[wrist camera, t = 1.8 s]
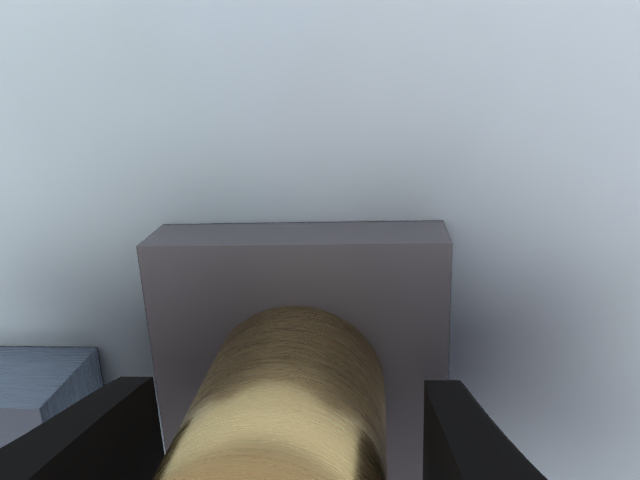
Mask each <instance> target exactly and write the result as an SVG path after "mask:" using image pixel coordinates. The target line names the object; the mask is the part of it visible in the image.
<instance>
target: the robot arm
mask: <svg viewBox="0 0 640 480" xmlns="http://www.w3.org/2000/svg"><path fill="white" fill-rule="evenodd" d="M163 457H164V450H163V443H162V436H161V429H160V422H159V416H158V409H157V402H156V395H155V388H154V381H153V377H120V378H117V379H115V380H113V381H111V382H110V383H108V384H106V385H104V386H102V387H101V388H99V389H97V390H96V391H94V392H92V393H91V394H89V395H87V396H86V397H84V398H82V399H81V400H79V401H78V402H76V403H74V404H73V405H71V406H70V407H68V408H66V409H65V410H63V411H61V412H60V413H58V414H57V415H55V416H53V417H52V418H50V419H48V420H47V421H45V422H44V423H42V424H40V425H39V426H37V427H35V428H34V429H32V430H31V431H29V432H27V433H26V434H24V435H22V436H21V437H19V438H17V439H15V440H14V441H12V442H10V443H8V444H7V445H5V446H3V447H1V448H0V480H152V479H153V477H154V475H155V473H156V471H157V469H158V467H159V465H160V463H161V461H162V459H163ZM423 480H547V479H546V478H545V477H544V476H543V475H542V474H541V473H540V472H539V471H538V470H537V469H536V468H535V467H534V466H533V465H532V464H531V463H530V462H529V461H528V460H527V458H526V457H525V456H524V455H523V454H522V453H521V452H520V451H519V450H518V449H517V448H516V446H515V445H514V444H513V443H512V442H511V441H510V440H509V439H508V438H507V437H506V436H505V434H504V433H503V432H502V431H501V430H500V429H499V428H498V426H497V425H496V424H495V423H494V422H493V420H492V419H491V418H490V417H489V416H488V414H487V413H486V412H485V411H484V410H483V408H482V407H481V406H480V405H479V403H478V402H477V401H476V399H475V398H474V397H473V396H472V394H471V393H470V392H469V390H468V389H467V388H466V387H465V386H464V384H463V383H462V382H461V381H460V380H424V427H423Z"/></svg>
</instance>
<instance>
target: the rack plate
mask: <svg viewBox="0 0 640 480" xmlns="http://www.w3.org/2000/svg"><path fill="white" fill-rule="evenodd" d="M102 386H103V381H102V375H101V369H100V363H99V358H98V352H97V348H90V347H0V448H1V447H3V446H5V445H7V444H8V443H10V442H12V441H14V440H15V439H17V438H19V437H21V436H22V435H24V434H26V433H27V432H29V431H31V430H32V429H34V428H35V427H37V426H39V425H40V424H42V423H44V422H45V421H47V420H48V419H50V418H52V417H53V416H55V415H57V414H58V413H60V412H61V411H63V410H65V409H66V408H68V407H70V406H71V405H73V404H74V403H76V402H78V401H79V400H81V399H82V398H84V397H86V396H87V395H89V394H91V393H92V392H94V391H96V390H97V389H99V388H101V387H102Z"/></svg>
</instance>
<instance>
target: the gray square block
mask: <svg viewBox="0 0 640 480" xmlns="http://www.w3.org/2000/svg"><path fill="white" fill-rule="evenodd" d="M136 247H137V254H138V261H139V268H140V275H141V282H142V289H143V296H144V303H145V310H146V317H147V324H148V331H149V338H150V345H151V352H152V359H153V366H154V373H155V379H156V386H157V393H158V400H159V407H160V414H161V421H162V428H163V435H164V442H165V449H166V452H167V450H168V448H169V446H170V444H171V442H172V440H173V438H174V436H175V434H176V432H177V431H178V429H179V427H180V425H181V423H182V421H183V419H184V417H185V415H186V413H187V411H188V409H189V407H190V406H191V404H192V402H193V400H194V398H195V396H196V394H197V392H198V390H199V388H200V386H201V384H202V382H203V381H204V379H205V377H206V375H207V373H208V371H209V369H210V367H211V365H212V363H213V361H214V359H215V357H216V356H217V354H218V352H219V350H220V348H221V346H222V344H223V343H224V341H225V340H226V338H227V337H228V335H229V334H230V333H231V332H232V331H233V330H234V329H235V328H236V327H237V326H238V325H239V324H240V323H242V322H243V321H245V320H246V319H248V318H249V317H251V316H253V315H255V314H257V313H259V312H262V311H265V310H268V309H271V308H277V307H282V306H306V307H311V308H317V309H320V310H323V311H327V312H329V313H332V314H334V315H336V316H338V317H340V318H342V319H344V320H345V321H347V322H349V323H350V324H351V325H352V326H354V327H355V328H356V329H358V330H359V331H360V332H361V333H362V334H363V335H364V336H365V337H366V339H367V340H368V341H369V343H370V344H371V345H372V347H373V348H374V350H375V352H376V354H377V355H378V358H379V360H380V363H381V365H382V370H383V374H384V383H385V410H386V440H387V471H388V480H423V427H424V380H448V367H449V334H450V301H451V268H452V241H451V239H450V236H449V234H448V231H447V229H446V227H445V224H444V222H443V221H380V222H312V223H243V224H175V225H162V226H161V227H160V228H158V229H157V230H156V231H155V232H154V233H152V234H151V235H150V236H149V237H147V238H146V239H145V240H144V241H142V242H141V243H140V244H139V245H138V246H136Z"/></svg>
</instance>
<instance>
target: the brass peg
mask: <svg viewBox="0 0 640 480" xmlns="http://www.w3.org/2000/svg"><path fill="white" fill-rule="evenodd" d="M152 480H388V471H387V440H386V410H385V383H384V374H383V370H382V365H381V363H380V360H379V358H378V355H377V354H376V352H375V350H374V348H373V347H372V345H371V344H370V343H369V341H368V340H367V339H366V337H365V336H364V335H363V334H362V333H361V332H360V331H359V330H358V329H356V328H355V327H354V326H352V325H351V324H350V323H349V322H347V321H345V320H344V319H342V318H340V317H338V316H336V315H334V314H332V313H329V312H327V311H323V310H320V309H317V308H311V307H306V306H282V307H277V308H271V309H268V310H265V311H262V312H259V313H257V314H255V315H253V316H251V317H249V318H248V319H246V320H245V321H243V322H242V323H240V324H239V325H238V326H237V327H236V328H235V329H234V330H233V331H232V332H231V333H230V334H229V335H228V337H227V338H226V340H225V341H224V343H223V344H222V346H221V348H220V350H219V352H218V354H217V356H216V357H215V359H214V361H213V363H212V365H211V367H210V369H209V371H208V373H207V375H206V377H205V379H204V381H203V382H202V384H201V386H200V388H199V390H198V392H197V394H196V396H195V398H194V400H193V402H192V404H191V406H190V407H189V409H188V411H187V413H186V415H185V417H184V419H183V421H182V423H181V425H180V427H179V429H178V431H177V432H176V434H175V436H174V438H173V440H172V442H171V444H170V446H169V448H168V450H167V452H166V454H165V456H164V457H163V459H162V461H161V463H160V465H159V467H158V469H157V471H156V473H155V475H154V477H153V479H152Z"/></svg>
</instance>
